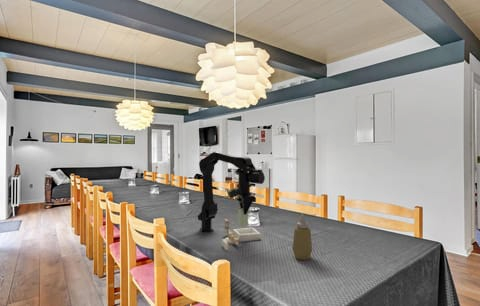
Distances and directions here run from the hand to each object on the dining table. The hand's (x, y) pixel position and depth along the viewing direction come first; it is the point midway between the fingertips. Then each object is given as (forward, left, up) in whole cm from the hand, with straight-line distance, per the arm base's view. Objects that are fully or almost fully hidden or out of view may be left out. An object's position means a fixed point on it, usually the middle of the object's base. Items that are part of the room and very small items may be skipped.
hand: (243, 213), depth 137 cm
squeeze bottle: (+30, +15, -13) cm, 36 cm away
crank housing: (+5, -8, -13) cm, 16 cm away
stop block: (0, 0, -6) cm, 6 cm away
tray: (-2, +2, -13) cm, 13 cm away
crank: (0, -7, -11) cm, 13 cm away
